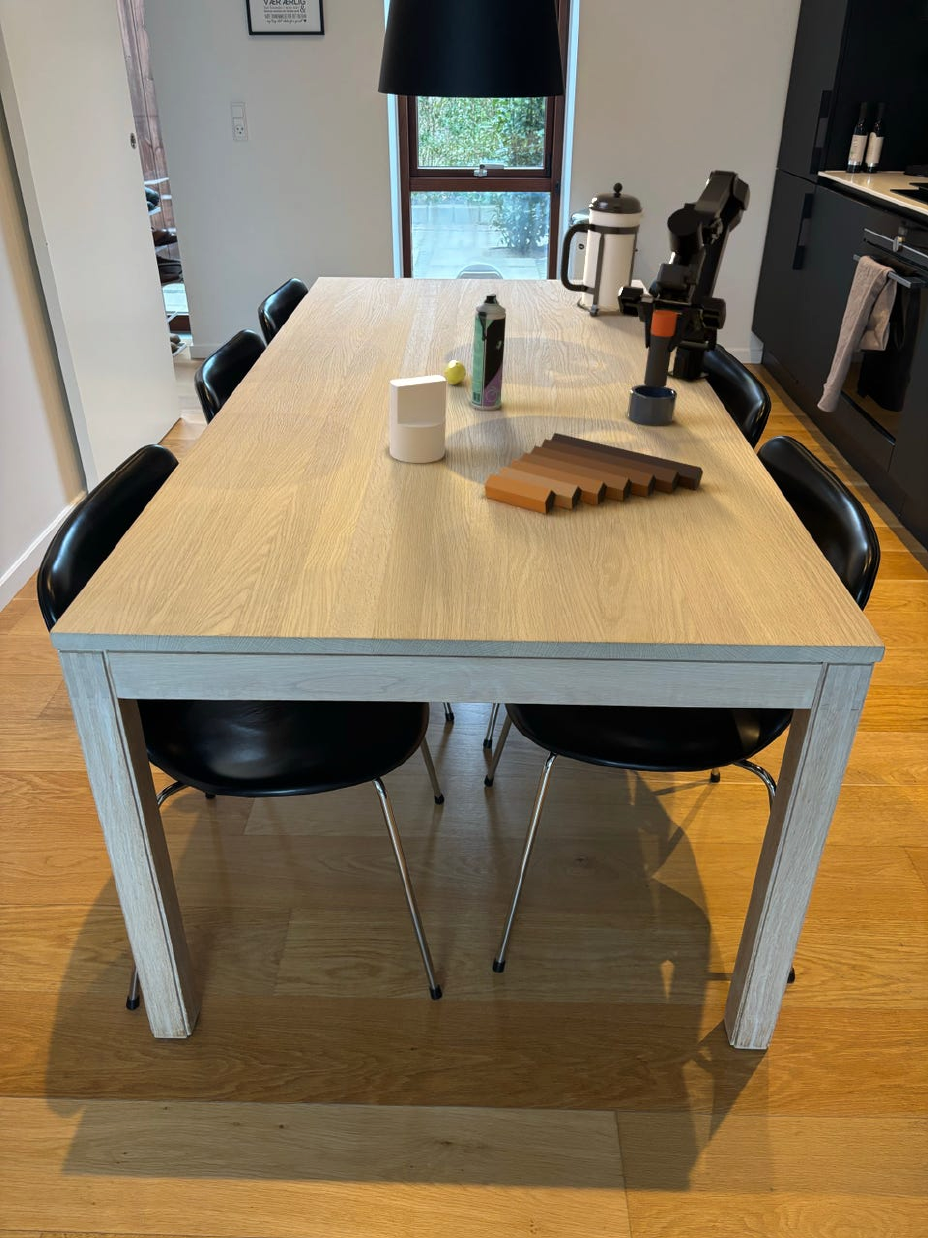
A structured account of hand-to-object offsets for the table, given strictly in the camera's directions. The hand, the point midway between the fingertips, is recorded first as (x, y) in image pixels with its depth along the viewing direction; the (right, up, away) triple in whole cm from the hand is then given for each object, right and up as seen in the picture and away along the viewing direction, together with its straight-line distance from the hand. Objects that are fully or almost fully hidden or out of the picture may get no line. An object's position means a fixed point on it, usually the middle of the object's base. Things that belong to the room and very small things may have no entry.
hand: (658, 349), depth 169 cm
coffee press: (+1, +31, +76) cm, 82 cm away
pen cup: (0, -10, +8) cm, 13 cm away
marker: (0, -5, +4) cm, 7 cm away
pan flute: (-14, -28, -22) cm, 38 cm away
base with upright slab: (-42, -20, -11) cm, 48 cm away
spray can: (-30, -8, +10) cm, 33 cm away
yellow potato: (-36, 0, +22) cm, 42 cm away
